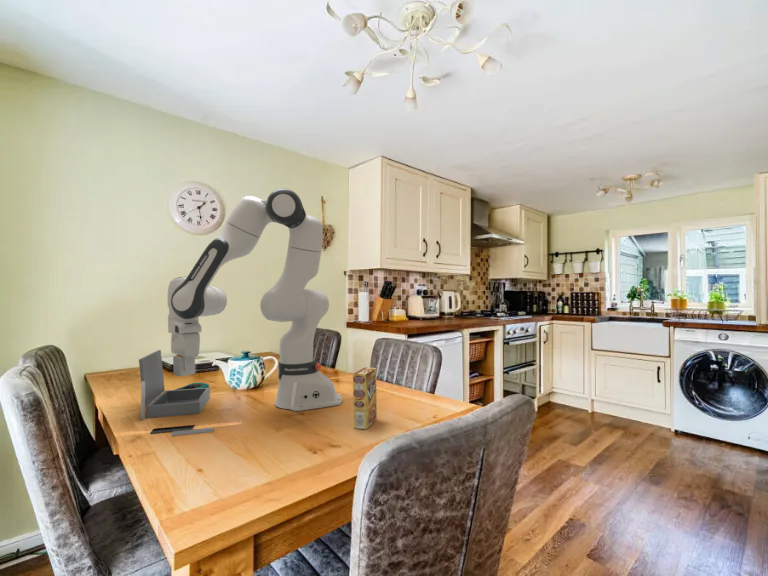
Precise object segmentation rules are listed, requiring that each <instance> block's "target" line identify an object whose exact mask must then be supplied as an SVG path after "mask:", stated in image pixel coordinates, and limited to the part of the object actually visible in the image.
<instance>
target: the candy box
mask: <svg viewBox="0 0 768 576" xmlns="http://www.w3.org/2000/svg"><path fill="white" fill-rule="evenodd" d="M352 396H353V398H352V399H353V403H352V405H353V429H360V430H361V429H362V430H367V429H368V428H369V427H370V426H372V425H373V423H375V422H376V421H377V419H378V414H377V413H378V412H377V409H378V407H377V406H378V405H377V402H378V400H377V368H376V367H363V368H361V369H359V370H357V371H356V372H353V374H352Z"/></svg>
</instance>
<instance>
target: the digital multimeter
mask: <svg viewBox="0 0 768 576" xmlns="http://www.w3.org/2000/svg"><path fill="white" fill-rule="evenodd" d="M196 388H210V384H208V383H205V382H192V383H190V384H187V385H184V386H181V387H177V388H175V389H174V390H182V389H196Z"/></svg>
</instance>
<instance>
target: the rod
mask: <svg viewBox="0 0 768 576" xmlns="http://www.w3.org/2000/svg"><path fill="white" fill-rule="evenodd" d="M214 432H215V428H214V427H213V426H212V427H205V428H204V427H203V428H196V429H195V428H194V429H193V428H192V429H191V430H181V431H173V432H171V437H176V436H178V435H179V436H188V435H196V434H207V433H214Z"/></svg>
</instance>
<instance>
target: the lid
mask: <svg viewBox="0 0 768 576" xmlns="http://www.w3.org/2000/svg"><path fill="white" fill-rule="evenodd" d="M162 360H163V359H162V351H161V349H157V350H156V351H154V352H151V353H149V354H147V355H145V356H143V357H141V358H139V359H138V363H139V364H138V365H139V376H140V383H141V382H142V381H145V408H147V406H148V405H149V404H150V403H152V402H153V401H154V400H155V399H156V398H157V397H158V396H160V395H161V394H162V393H163V392H164V391H166V389H165V379H164V370H163V369H164V368H163V361H162Z"/></svg>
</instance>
